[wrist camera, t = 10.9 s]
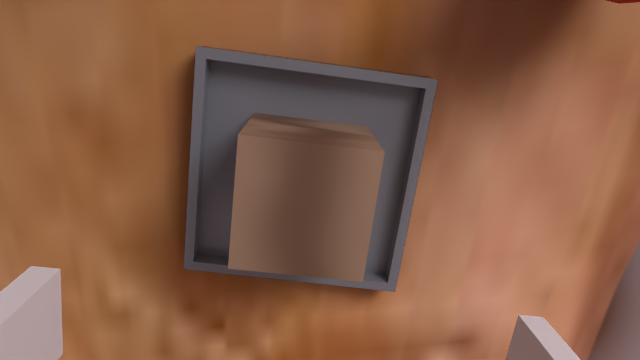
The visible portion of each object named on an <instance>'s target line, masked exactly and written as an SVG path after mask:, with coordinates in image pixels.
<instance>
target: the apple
mask: <svg viewBox="0 0 640 360" xmlns="http://www.w3.org/2000/svg"><path fill="white" fill-rule="evenodd" d="M607 1H611V2H615V3H619V4H620V3H633V2H640V0H607Z"/></svg>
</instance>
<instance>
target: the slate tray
mask: <svg viewBox="0 0 640 360" xmlns="http://www.w3.org/2000/svg"><path fill="white" fill-rule="evenodd" d="M437 83H438V80H437V79H434V78H430V77H423V76H416V75H408V74H401V73H394V72H387V71H379V70H372V69H365V68H358V67H350V66H343V65H336V64H328V63H321V62H314V61H307V60H299V59H292V58H285V57H278V56H270V55H263V54H256V53H249V52H241V51H234V50H227V49H219V48H212V47H205V46H196V54H195V72H194V90H193V108H192V126H191V144H190V162H189V179H188V197H187V215H186V233H185V251H184V269H187V270H196V271H205V272H215V273H224V274H233V275H242V276H252V277H261V278H270V279H280V280H289V281H298V282H308V283H317V284H326V285H335V286H345V287H354V288H363V289H373V290H382V291H391V292H395V290H396V285H397V280H398V275H399V270H400V265H401V260H402V256H403V251H404V246H405V241H406V236H407V231H408V226H409V221H410V216H411V211H412V206H413V201H414V196H415V191H416V186H417V181H418V176H419V172H420V167H421V162H422V157H423V152H424V147H425V142H426V137H427V132H428V127H429V122H430V117H431V112H432V107H433V102H434V97H435V93H436V88H437ZM254 113H260V114H269V115H277V116H285V117H294V118H302V119H310V120H319V121H327V122H335V123H344V124H352V125H361V126H367V127H368V129H369V130H370V131H371V133H372V134H373V136H374V137H375V138H376V140H377V141H378V143H379V144H380V146H381V147H382V148H383V150H384V151H385V154H384V160H383V165H382V171H381V177H380V183H379V189H378V195H377V201H376V207H375V213H374V219H373V225H372V231H371V237H370V243H369V249H368V255H367V261H366V267H365V272H364V278H363V282H358V281H348V280H338V279H328V278H318V277H307V276H297V275H287V274H277V273H267V272H257V271H247V270H237V269H228V261H229V247H230V234H231V221H232V207H233V194H234V181H235V167H236V154H237V141H238V134H239V133H240V131H241V130H242V129H243V127H244V126H245V125H246V123H247V122H248V121H249V119H250V118H251V117H252V115H253V114H254Z"/></svg>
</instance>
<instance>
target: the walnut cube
mask: <svg viewBox="0 0 640 360" xmlns="http://www.w3.org/2000/svg"><path fill="white" fill-rule="evenodd" d="M384 154H385V151H384V150H383V148H382V147H381V146H380V144H379V143H378V141H377V140H376V138H375V137H374V136H373V134H372V133H371V131H370V130H369V129H368V127H367V126H361V125H352V124H344V123H335V122H327V121H319V120H310V119H302V118H294V117H285V116H277V115H269V114H260V113H254V114H253V115H252V117H251V118H250V119H249V121H248V122H247V123H246V125H245V126H244V127H243V129H242V130H241V131H240V133H239V134H238V141H237V154H236V167H235V181H234V194H233V207H232V221H231V234H230V247H229V261H228V269H237V270H247V271H257V272H267V273H277V274H287V275H297V276H307V277H318V278H328V279H338V280H348V281H358V282H363V278H364V272H365V267H366V261H367V255H368V249H369V243H370V237H371V231H372V225H373V219H374V213H375V207H376V201H377V195H378V189H379V183H380V177H381V171H382V165H383V160H384Z"/></svg>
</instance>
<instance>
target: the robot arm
mask: <svg viewBox="0 0 640 360" xmlns="http://www.w3.org/2000/svg"><path fill="white" fill-rule="evenodd" d="M62 354H63V346H62V310H61V274H60V269H56V268H46V267H36V266H31V267H30V268H29V269H27V270H26V271H25V272H24V273H22V274H21V275H20V276H19V277H18V278H16V279H15V280H14V281H13V282H12V283H10V284H9V285H8V286H7V287H6V288H4V289H3V290H2V291H1V292H0V360H58V359H59V358H60V357H61V355H62ZM506 360H580V359H579V357H578V356H577V355H576V354H575V353H574V352H573V351H572V349H571V348H570V347H569V346H568V345H567V344H566V343H565V341H564V340H563V339H562V338H561V337H560V336H559V335H558V333H557V332H556V331H555V330H554V329H553V328H552V327H551V325H550V324H549V323H548V322H547V321H546V320H545V319H544V317H536V316H526V315H518V319H517V322H516V326H515V329H514V332H513V336H512V339H511V343H510V346H509V349H508V353H507V356H506Z"/></svg>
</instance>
